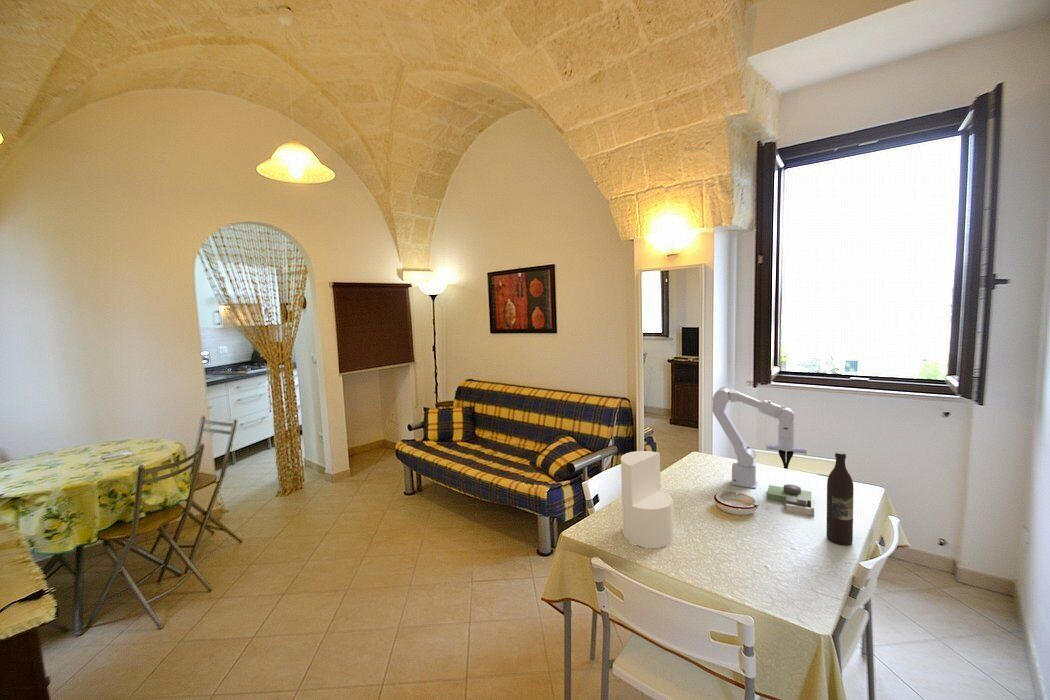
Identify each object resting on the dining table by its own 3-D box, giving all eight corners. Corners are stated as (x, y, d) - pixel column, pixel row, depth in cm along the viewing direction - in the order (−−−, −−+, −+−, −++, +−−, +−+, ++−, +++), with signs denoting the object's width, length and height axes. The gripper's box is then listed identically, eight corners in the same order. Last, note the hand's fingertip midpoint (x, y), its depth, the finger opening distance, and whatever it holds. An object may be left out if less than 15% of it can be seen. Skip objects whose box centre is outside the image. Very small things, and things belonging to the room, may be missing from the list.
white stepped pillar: (613, 535, 154) (610, 459, 151) (641, 518, 165) (639, 447, 162) (655, 554, 140) (653, 472, 138) (683, 535, 151) (681, 458, 149)
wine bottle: (828, 543, 142) (829, 455, 139) (824, 533, 148) (825, 448, 145) (854, 547, 139) (856, 457, 136) (850, 537, 145) (851, 450, 142)
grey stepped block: (785, 508, 167) (785, 497, 166) (786, 503, 171) (786, 492, 171) (807, 512, 163) (807, 501, 162) (807, 507, 167) (807, 496, 167)
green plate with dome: (765, 507, 169) (765, 496, 168) (769, 490, 183) (769, 480, 183) (814, 516, 160) (814, 504, 159) (814, 498, 174) (814, 487, 174)
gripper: (765, 437, 181) (765, 468, 182) (806, 441, 173) (806, 474, 174) (767, 432, 187) (767, 462, 188) (806, 436, 179) (806, 468, 180)
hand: (786, 467), depth 182 cm, fingers closed
